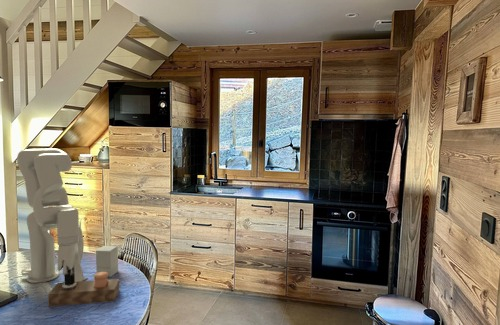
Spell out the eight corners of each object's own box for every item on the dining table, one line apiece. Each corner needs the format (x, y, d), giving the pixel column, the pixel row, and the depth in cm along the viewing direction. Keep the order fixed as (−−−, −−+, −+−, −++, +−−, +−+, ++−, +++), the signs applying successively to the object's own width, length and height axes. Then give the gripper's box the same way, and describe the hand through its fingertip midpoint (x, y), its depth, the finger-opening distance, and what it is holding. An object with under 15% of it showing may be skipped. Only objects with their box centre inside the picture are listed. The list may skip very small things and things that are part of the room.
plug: (60, 302, 129) (59, 287, 128) (65, 296, 134) (64, 281, 133) (74, 301, 130) (74, 286, 129) (78, 295, 135) (78, 280, 134)
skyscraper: (90, 279, 150) (88, 219, 148) (75, 286, 143) (74, 223, 141) (75, 276, 153) (74, 218, 151) (60, 283, 145) (59, 222, 143)
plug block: (48, 306, 126) (48, 294, 125) (58, 294, 135) (58, 282, 135) (114, 301, 130) (114, 289, 130) (119, 290, 140) (119, 278, 140)
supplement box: (118, 271, 160) (118, 245, 159) (110, 277, 153) (110, 251, 152) (104, 270, 161) (104, 245, 160) (95, 276, 153) (95, 250, 153)
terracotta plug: (92, 292, 131) (92, 277, 130) (96, 286, 136) (96, 272, 135) (106, 291, 132) (106, 276, 131) (109, 285, 137) (109, 271, 136)
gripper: (65, 234, 136) (66, 277, 138) (50, 245, 122) (52, 293, 123) (84, 233, 138) (85, 275, 139) (72, 244, 123) (73, 291, 124)
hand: (69, 283), depth 131 cm, fingers closed
